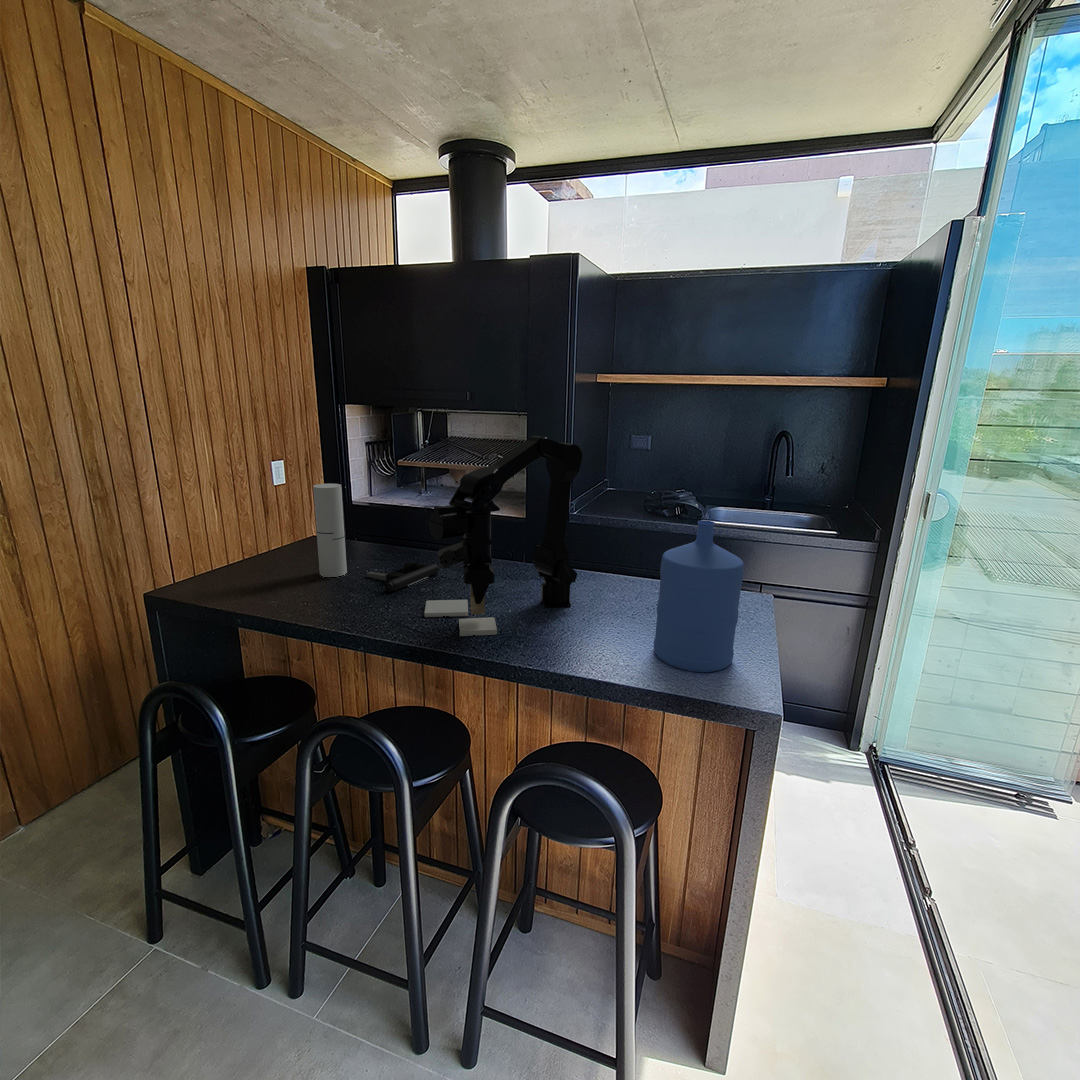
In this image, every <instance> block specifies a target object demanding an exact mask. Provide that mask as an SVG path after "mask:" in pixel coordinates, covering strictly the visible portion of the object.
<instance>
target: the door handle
mask: <svg viewBox="0 0 1080 1080" xmlns="http://www.w3.org/2000/svg"><path fill="white" fill-rule="evenodd" d="M412 571H413V572H412ZM439 571H440V566H439V565H438V564H437V563H432V564H428V563H421V562H412V561H408V562H406V563H405V564H404V565H403V567H402V568H399V569H396V570H394V571H392V572H389V573H383V572H377V571H369V572H368V571H367V572H366V573H365V575H366V577H367V576H368V577H372V578H376V579H380V580H385V581H387V582H385V581H384V582H385V584H384V589H385V590H386V592H389V593H391V591H393V592H396V591H398V590H400V589H404V588H405V586H409V585H412V584H414V583H416V584H418V583H417V582H419V581H421V580H423V579H426V578H428V579H429V577H432V576H435V575H437V574H439ZM409 572H411V573H409ZM407 573H408V574H407ZM431 575H432V576H431ZM368 577H367V578H368ZM372 578H371V579H372ZM376 579H375V580H376ZM380 580H379V581H380ZM426 580H427V579H426ZM423 581H424V580H423ZM421 582H422V581H421ZM419 583H420V582H419ZM414 585H415V584H414ZM412 586H413V585H412Z"/></svg>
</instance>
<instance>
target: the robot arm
mask: <svg viewBox="0 0 1080 1080" xmlns="http://www.w3.org/2000/svg"><path fill="white" fill-rule="evenodd" d="M539 458H542V459H545V467H546V471H547V474H548V475H549V478H550V483H549V484H550V485H549V493H548V503H547V511H546V512H547V513H546V521H545V527H544V537H543V540H542V541H541V542H540V544H539V545H538V544H535V545H534V548H533V551H534V552H533V557H532V562H533V565H534V568H535V569H536V570H537V574H538V576H539V577H540V578H543V582H542V583H541V584H540V600H541V602H542V603H543V604H544V607H545V608H557V607H558V608H560V607H562V608H563V607H571V606H572V603H571V601H570V599H571V598H570V597H571V585H572V584H573V583H575V582H576V579H577V578H578V572H577V571H576V570H575V569H574V568H573V567H572V566H571V565H570V552H569V549H568V546H567V544H566V541H565V540H566V531H567V523H568V522H567V521H568V513H569V506H570V498H571V489H572V482H573V481H574V480H575V478H576V477H577V475H578V474H579V472H580V469H581V465H582V461H583V451H582V450H581V448H580V447H579V445H578V444H575V443H569V442H568V443H567V442H560V441H555V440H552V439H549V438H548V437H546V436H540V435H539V436H538V435H531V436H529V437H528V438H527V439H526V440H525V441H524V442H523V443H521V444H520V445H518V446H517V447H516V448H514V449H513V450H511V451H510V452H507V454H505V455H503V456H502V457H501V458H499V459H498V460H497V461H495V462H494V463H492V464H490V465H488V466H485V467H480V468H477V469H474V470H472V471H471V472H468V473H465V474H464V475H463V476H462V477H461V478H460V480H459V482H460V483H459V485H458V488H457V489H456V491H455V492H454V493H453V496H452V498H450V501H449V503H448V504H449V505H443V506H442V505H435V506H434V507H433V512H432V513H431V515H430V517H429V520H428V528H429V533H430V535H431V537H432V538H433V539H434V540H435V541H441V540H447V539H454V538H458V537H462V541H461V542H458V543H455V544H452V545H449V546H448V545H447V546H446V547H443V548H441V549H439V550H437V558H438V560H439V564H440V565H441V568H442V569H445V570H446V569H448V568H450V567H451V566H454V565H456V564H459V563H461V562H462V565H463V583H464V584H465V585H470V586H471V585H472V589H473V594H474V598H475V603H476V604H481V602H482V600H483V597H484V595H486V594H487V593H486V592H487V590H489V589H488V588H489V587H490V585H491V584H494V583H495V570H494V568H493V567H492V566H491V564H492V551H491V550H492V545H493V543H492V513H493V512H499V511H500V509H501V508H500V507H499V506H498V505H497V504H495V502H494V501H493V500H494V499H495V498H496V497H497V496H498V495H499V494H500V493H501V492H502V489H503V487H504V485H505V484H506V483H507V482H508V481H510V479H512V478H513V477H514V476H516V475H517V474H519V473H520V472H521V471H523V470H524V469H525V468H527V467H528V466H529V465H531V464H532V463H534V462H535V461H537V460H539ZM467 500H468V501H467Z"/></svg>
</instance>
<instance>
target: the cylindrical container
mask: <svg viewBox="0 0 1080 1080" xmlns="http://www.w3.org/2000/svg"><path fill="white" fill-rule="evenodd" d="M312 488H313V489H312V490H313V503H314V504H313V505H314V515H315V526H316V527H315V530H316V542H317V544H316V545H317V553H318V567H319V576H320V575H321V576H323V577H322V578H324V577H337V578H339V577H338V576H342V575H344V576H346V575H347V574H348V569H347V567H348V566H347V554H346V553H347V552H346V539H345V537H346V536H345V523H344V522H345V521H344V508H343V507H344V506H343V505H344V504H343V492H342V491H343V490H342V489H343V488H342V484H339V483H318V484H314V485H313V486H312ZM346 573H347V574H346ZM345 574H346V575H345ZM321 576H320V577H321ZM342 577H343V576H342Z"/></svg>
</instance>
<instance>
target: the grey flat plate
mask: <svg viewBox="0 0 1080 1080" xmlns="http://www.w3.org/2000/svg"><path fill="white" fill-rule="evenodd" d="M443 616H445V617H446V616H449V617H469V602H468V599H439V600H438V599H437V600H434V599H433V600H431V599H430V600H426V601H425V607H424V618H438V617H439V618H442V617H443Z"/></svg>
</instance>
